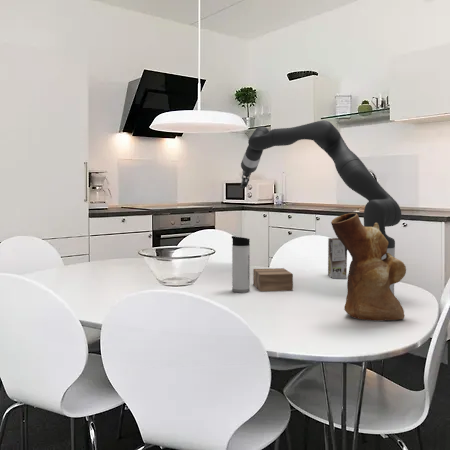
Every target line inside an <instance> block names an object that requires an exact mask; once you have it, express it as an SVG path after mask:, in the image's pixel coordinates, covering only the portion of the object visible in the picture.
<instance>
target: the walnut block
mask: <svg viewBox="0 0 450 450" xmlns="http://www.w3.org/2000/svg"><path fill="white" fill-rule="evenodd" d="M252 275H253V280H252V281H253V286H255V288H256V289H257V290H258V291H259V292H281V291H282V292H284V291H285V292H286V291H288V292H290V291H294V290H293V289H294V287H293V285H294V282H293V281H294V273H292V272H290V271H288V270H287V269H285V268H284V267H283V268H253V273H252Z"/></svg>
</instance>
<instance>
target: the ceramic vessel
mask: <svg viewBox="0 0 450 450" xmlns="http://www.w3.org/2000/svg"><path fill="white" fill-rule="evenodd" d="M330 225H331V227H332V230H333V231H334V234H335V236H336V238H338V239H339V240H340V241H341V242H342V244H343V245H344V246H345V248H346V249H347V252H348V253H349V254H350V256H351V261H350V264H349V267H348V268H349V269H348V272H347V273H348V274H347V283H346V287H347V289H346V290H347V291H346V292H347V294H346V298H345V304H344V305H343V306H344V308H343V310H344V311H345V312H346V314H347V315H348V316H349V317H351V318H354V319H357V320H361V321H362V320H363V321H372V322H373V321H374V322H375V321H378V322H379V321H380V322H381V321H395V320H396V321H398V320H403V319H405V310H404V308H403V306H402V304H401V303H400V301H399V300H398V298H397V297H396V296H395V293H394V294H393V293H392V291H391V290H390V285H392V284H394V285H395V284H398V283H399V282H401V281H402V279H404V277H405V275H406V274H407V266H406V264H405V263H404V262H403V261H402V260H401V259H398V258H396V257H395V258H394V257H393V256H392V255H391V254H389V253H387V247H388V241H387V239H386V238H385V237H384V235H383V234H382V233H381V232H380V230H379V225H378V223H375V224H374V226H373V227H364V224H363V223H362V222H361V220H360V217H359V214H358V213H355V212H349V213H345V214H341V215H338V216H337V217H335V218H333V219H332V220H331V222H330ZM385 254H386V258H385V259H383V260H381V257H382V256H384V255H385Z"/></svg>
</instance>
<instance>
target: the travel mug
mask: <svg viewBox="0 0 450 450" xmlns="http://www.w3.org/2000/svg"><path fill="white" fill-rule="evenodd" d="M231 239H232V241H231V242H232V244H231V245H232V247H231V248H232V249H231V252H232V256H231V259H232V261H231V262H232V264H231V266H232V268H231V269H232V270H231V271H232V273H231V274H232V275H231V276H232V279H231V280H232V281H231V284H232V285H231V286H232V287H231V288H232V289H231V290H232V292H233V293H238V294H240V293H241V294H243V293H244V294H245V293H249V292H250V287H251V286H250V285H251V283H250V282H251V281H250V280H251V279H250V278H251V277H250V275H251V273H250V271H251V270H250V266H251V265H250V264H251V262H250V261H251V260H250V259H251V252H250V251H251V250H250V249H251V248H250V247H251V245H250V242H251V241H250V238H248V237H241V236H235V235H232V236H231Z"/></svg>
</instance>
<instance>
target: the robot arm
mask: <svg viewBox="0 0 450 450" xmlns="http://www.w3.org/2000/svg"><path fill="white" fill-rule="evenodd" d="M301 140H309V141H313V142H314V143H315V144H316V145H317V146H318V147H319V148H320V149H322V150H323V151H324V152H325V153H326V154H327V155H328V156H329V157H330V158H331V160H332V161H333V163H334V166H335V170H336V172H337V174H338V175H339V177H340V178H341V180H342V181H343V182H344V184H345V185H346V186H347V187H348V188H349V189H350V190H352V191H353V192H355V193H357V194H358V195H360V196H362V198H365V199H366V200H367V202H366V204H365V207H364V209H363V226H364V227H373V226H374V224H375V223H378V225H379V230H380V232H381V233H382V234H383V235H384V237H385V238H386V239H387V241H388V247H387V253H389V254H391V255H392V256H393V257H394V258H396V255H395V254H396V241H395V238H393V237H390V236H389V235H388V234H387V233H386V228H387V227H393V226H396V225H398V224H399V223H400V222H401V221H402V209H401V207H400V204H399V203H398V202H397V201H396V200H395V198H393V197H392V196H391V195H390V194H389V193H388V191H386V189H384V188H383V187H382V185H381V184H380V183H379V181H377V179H376V178H375V177H374V176H373V174H372V173H371V171H369V169H368V167H366V166H367V165H365V164H364V163H363V161H362V160H361V159H360V158H359V157H358V155H356V153H355V152H354V151H352V150H351V149H350V148H349V147H348V145H347V143H346V142H345V140H344V139H343V137H342V135H341V133H340V131H339V130H338V129H337V128H336V126H334V124H333V123H331V122H330V121H329V120H317V121H314V122H311V123H310V122H309V123H305V124H301V125H298V126H294V127H293V126H292V127H285V128H284V127H283V128H282V127H281V128H280V127H279V128H274V129H273V128H272V129H270V130H269V129H268V128H267V127H265V126H263V125H262V126H258V127H256V128H255V129H254V131H253V132H252V133H251V135H250V137H249V138H248V140H247V141H248V145H247V147H246V150H245V152H244V154H243V157H242V158H241V159H242V160H241V163H240V167H241V169H242V171H241V173H242V175H241V182H240V186H239V187H240V188H241V189H246V188H247V187H248V185H249V181H250V177H251V176H252V173H254V172H255V171H256V170H257V168H258V166H259V163H260V161H261V156H262V155H263V151H264V150H266V149H267V150H268V149H270V148H273V147H283V146H284V147H285V146H289V145H290V146H291V145H293V144H295V143H296V142H298V141H301ZM385 258H386V254H385V255H384V256H382V257H381V260H383V259H385ZM390 290H391V291H392V293H393V294H394V295H395V284H392V285H390Z"/></svg>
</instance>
